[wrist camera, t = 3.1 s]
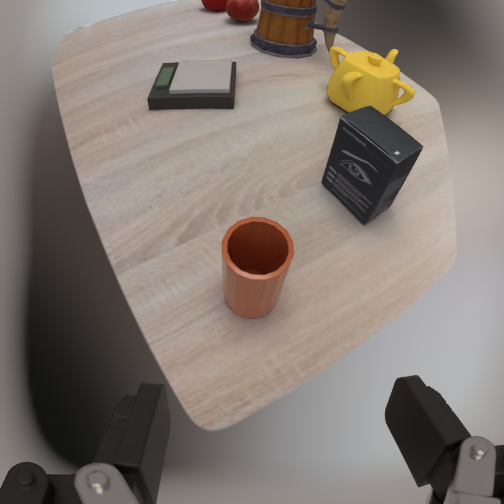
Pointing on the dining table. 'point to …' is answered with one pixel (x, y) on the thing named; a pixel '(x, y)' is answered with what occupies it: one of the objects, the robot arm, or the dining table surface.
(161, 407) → the robot arm
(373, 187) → the box
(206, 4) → the apple
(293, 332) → the dining table surface
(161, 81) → the scale
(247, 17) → the fruit
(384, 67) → the teapot
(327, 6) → the mug
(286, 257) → the cup
